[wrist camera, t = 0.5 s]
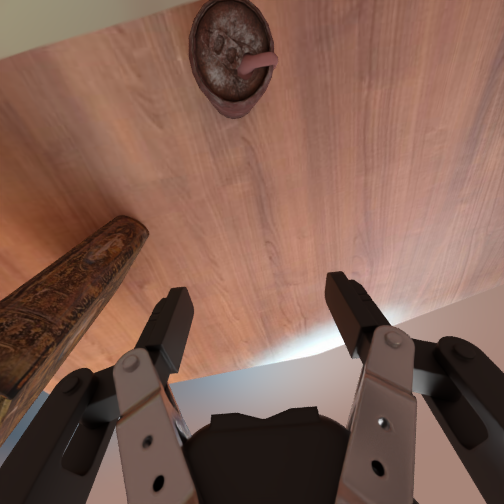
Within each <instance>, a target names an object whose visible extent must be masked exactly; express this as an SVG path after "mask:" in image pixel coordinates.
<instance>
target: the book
mask: <svg viewBox="0 0 504 504" xmlns="http://www.w3.org/2000/svg"><path fill="white" fill-rule="evenodd" d="M148 236H149V232H148V230H147V228H146V227H145V226H144V225H143V224H142V223H140V222H139V221H137V220H135V219H133V218H131V217H127V216H118V217H116V218H115V219H113V220H112V221H110V222H109V223H108V224H106V225H105V226H103V227H102V228H101V229H99V230H98V231H97V232H95V233H94V234H92V235H91V236H90V237H88V238H87V239H85V240H84V241H83V242H81V243H80V244H79V245H77V246H76V247H74V248H73V249H72V250H70V251H69V252H67V253H66V254H65V255H63V256H62V257H61V258H59V259H58V260H56V261H55V262H54V263H52V264H51V265H50V266H48V267H47V268H45V269H44V270H43V271H41V272H40V273H38V274H37V275H36V276H34V277H33V278H32V279H30V280H29V281H27V282H26V283H25V284H23V285H22V286H20V287H19V288H18V289H16V290H15V291H14V292H12V293H11V294H9V295H8V296H7V297H5V298H4V299H2V300H1V301H0V447H1V446H2V444H3V443H4V442H5V440H6V439H7V438H8V436H9V435H10V434H11V432H12V431H13V430H14V428H15V427H16V426H17V424H18V423H19V422H20V420H21V419H22V418H23V416H24V415H25V413H26V412H27V411H28V409H29V408H30V407H31V405H32V404H33V403H34V401H35V400H36V399H37V397H38V396H39V395H40V393H41V392H42V391H43V389H44V388H45V387H46V385H47V384H48V383H49V381H50V380H51V378H52V377H53V376H54V374H55V373H56V372H57V370H58V369H59V368H60V366H61V365H62V364H63V362H64V361H65V360H66V358H67V357H68V356H69V354H70V353H71V352H72V350H73V349H74V348H75V346H76V345H77V343H78V342H79V341H80V339H81V338H82V337H83V335H84V334H85V333H86V331H87V330H88V329H89V327H90V326H91V325H92V323H93V322H94V321H95V319H96V318H97V317H98V315H99V314H100V312H101V311H102V310H103V308H104V307H105V306H106V304H107V303H108V302H109V300H110V299H111V298H112V296H113V295H114V294H115V292H116V291H117V289H118V288H119V286H120V284H121V282H122V281H123V279H124V277H125V276H126V274H127V272H128V270H129V269H130V267H131V265H132V264H133V262H134V260H135V258H136V257H137V255H138V253H139V251H140V250H141V248H142V246H143V245H144V243H145V241H146V239H147V238H148Z"/></svg>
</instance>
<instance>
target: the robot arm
mask: <svg viewBox="0 0 504 504" xmlns="http://www.w3.org/2000/svg"><path fill="white" fill-rule="evenodd" d="M325 300H326V303H327V306H328V308H329V310H330V312H331V314H332V316H333V319H334V321H335V323H336V325H337V327H338V330H339V332H340V334H341V336H342V338H343V340H344V343H345V345H346V346H347V349H348V351H349V354H350V356H351V358H352V359H353V358H360V359H361V361H362V363H363V366H362V369H361V373H360V377H359V381H358V385H357V389H356V393H355V397H354V401H353V404H352V408H351V411H350V415H349V418H348V422H347V425H346V428H345V427H344V426H342V425H340V424H339V423H338V422H336V421H334V420H332V419H331V418H328V417H326V416H323V415H319V414H318V409H317V406H315V407H303V408H291V409H288V410H286V411H283V412H281V413H279V414H276V415H274V416H272V417H269V418H266V419H260V418H256V417H252V416H248V415H244V414H240V413H228V414H215V415H211V423H210V424H208V425H206V426H204V427H203V428H201V429H200V430H198V431H197V432H196V433H194V434H193V435H191V433H190V431H189V429H188V427H187V425H186V423H185V421H184V420H183V417H182V415H181V413H180V410H179V408H178V405H177V403H176V401H175V398H174V396H173V393H172V391H171V388H170V386H169V384H168V382H167V381H168V378H169V375H170V374H173V373H178V371H179V367H180V364H181V360H182V356H183V353H184V349H185V345H186V342H187V338H188V334H189V331H190V327H191V323H192V320H193V316H194V307H193V303H192V301H191V298H190V295H189V293H188V290H187V288H186V287H177V288H171V289H170V291H169V294H168V296H167V298H162V299H161V300H160V301H159V302H158V303H157V304H156V306H155V308H154V310H153V312H152V315H151V316H150V318H149V320H148V322H147V324H146V326H145V328H144V330H143V332H142V334H141V336H140V338H139V340H138V342H137V344H136V346H135V348H134V349H132V350H130V351H128V352H127V353H125V354H124V355H123V356H122V357H121V358H120V359H119V360H118V361H117V363H116V364H115V365H114V366H111V367H109V368H106V369H104V370H101V371H98V372H96V373H93V372H92V371H91V370H90V369H88V368H81V369H78V370H75V371H73V372H71V373H70V374H68V375H67V376H65V377H64V378H63V379H62V380H61V381H60V382H59V383H58V384H57V385H56V386H55V388H54V389H53V391H52V392H51V394H50V395H49V397H48V398H47V400H46V401H45V402H44V404H43V405H42V407H41V408H40V410H39V411H38V413H37V414H36V416H35V417H34V419H33V420H32V422H31V423H30V425H29V426H28V428H27V429H26V430H25V432H24V433H23V435H22V436H21V438H20V439H19V441H18V442H17V444H16V445H15V447H14V448H13V450H12V452H11V453H10V454H9V456H8V457H7V458H6V460H5V461H4V463H3V464H2V466H1V468H0V504H86V501H87V498H88V496H89V493H90V491H91V488H92V486H93V483H94V480H95V478H96V475H97V472H98V470H99V467H100V465H101V462H102V459H103V457H104V455H105V452H106V449H107V447H108V444H109V442H110V439H111V436H112V434H113V431H114V429H115V426H116V433H117V439H118V446H119V452H120V458H121V464H122V471H123V477H124V483H125V489H126V495H127V502H128V504H419V503H418V502H417V501H416V500H415V499H414V498H413V489H414V464H415V440H416V439H415V438H416V417H417V400H416V397H415V396H413V394H412V391H413V392H417V393H421V394H422V396H423V398H424V400H425V401H426V403H427V404H428V406H429V408H430V409H431V411H432V413H433V415H434V416H435V418H436V420H437V421H438V423H439V425H440V426H441V428H442V430H443V431H444V433H445V434H446V436H447V438H448V440H449V441H450V443H451V444H452V446H453V448H454V450H455V451H456V453H457V455H458V456H459V458H460V460H461V461H462V463H463V465H464V466H465V468H466V469H467V471H468V473H469V475H470V476H471V478H472V480H473V481H474V483H475V485H476V486H477V488H478V490H479V491H480V493H481V495H482V496H483V498H484V499H485V501H486V503H487V504H504V373H503V372H502V371H501V370H500V369H499V368H498V367H497V366H496V365H495V364H494V363H493V362H492V361H491V360H490V359H489V358H488V357H487V356H486V355H485V354H484V352H482V351H481V350H480V349H479V348H478V347H476V346H475V345H473V344H472V343H470V342H468V341H466V340H464V339H461V338H458V337H453V336H446V337H442V338H441V339H440V340H439V342H438V343H432V342H427V341H422V340H417V339H412V338H410V336H408V334H406V333H405V332H404V331H402V330H400V329H399V328H396V327H393V326H391V324H390V323H389V322H388V320H387V319H386V318H385V316H384V315H383V314H382V312H381V311H380V309H379V308H378V307H377V305H376V304H375V303H374V301H372V299H371V297H370V296H369V294H367V292H366V290H365V289H364V288H363V286H362V285H361V284H359V283H358V282H356V281H355V280H348V278H347V277H346V275H345V274H344V273H343V272H342V271H339V272H329V273H327V277H326V286H325ZM119 417H120V419H119V420H118V418H119ZM78 423H79V426H78V427H77V425H78ZM76 427H77V429H76ZM75 429H76V431H75ZM74 431H75V433H74ZM73 433H74V435H73ZM72 435H73V437H72ZM71 437H72V439H71ZM70 439H71V441H70ZM69 441H70V443H69ZM68 443H69V445H68ZM67 445H68V447H67ZM66 447H67V449H66ZM65 449H66V451H65ZM64 451H65V452H64ZM63 453H64V454H63Z"/></svg>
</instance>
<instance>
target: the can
mask: <svg viewBox="0 0 504 504" xmlns="http://www.w3.org/2000/svg"><path fill="white" fill-rule="evenodd" d="M189 59H190V64H191V68H192V73H193V75H194V77H195V79H196V82H197V84H198V86H199V88H200V89H201V91H202V92H203V93H204V94H205V96H206V97H207V98H208V99H209V101H210V102H211V103H212V104H213V106H214V107H215V108H216V109H217V110H218V112H219V113H220V114H222V115H224V116H225V117H228V118H232V119H236V118H241V117H243V116H245V115H246V114H248V113H249V111H250V110H251V109H252V108H253V107H254V105H255V104H256V103H257V102H258V100H259V99H260V98H261V96H262V95H263V94H264V92H265V91H266V89H267V87H268V84H269V82H270V80H271V78H272V73H273V70H274V69H275V67H276V65H277V63H278V57H277V55H276V54H275V53H274V42H273V38H272V35H271V32H270V28H269V25H268V23H267V21H266V20H265V18H264V16H263V15H262V13H261V12H260V10H259V9H258V8H257V7H256V6H255V5H254V4H253V3H251V2H250V1H249V0H209V1H208V2H207V3H205V4H204V5H203V6H202V8H201V9H200V11H199V12H198V14H197V15H196V17H195V18H194V21H193V24H192V28H191V32H190V35H189Z"/></svg>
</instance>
